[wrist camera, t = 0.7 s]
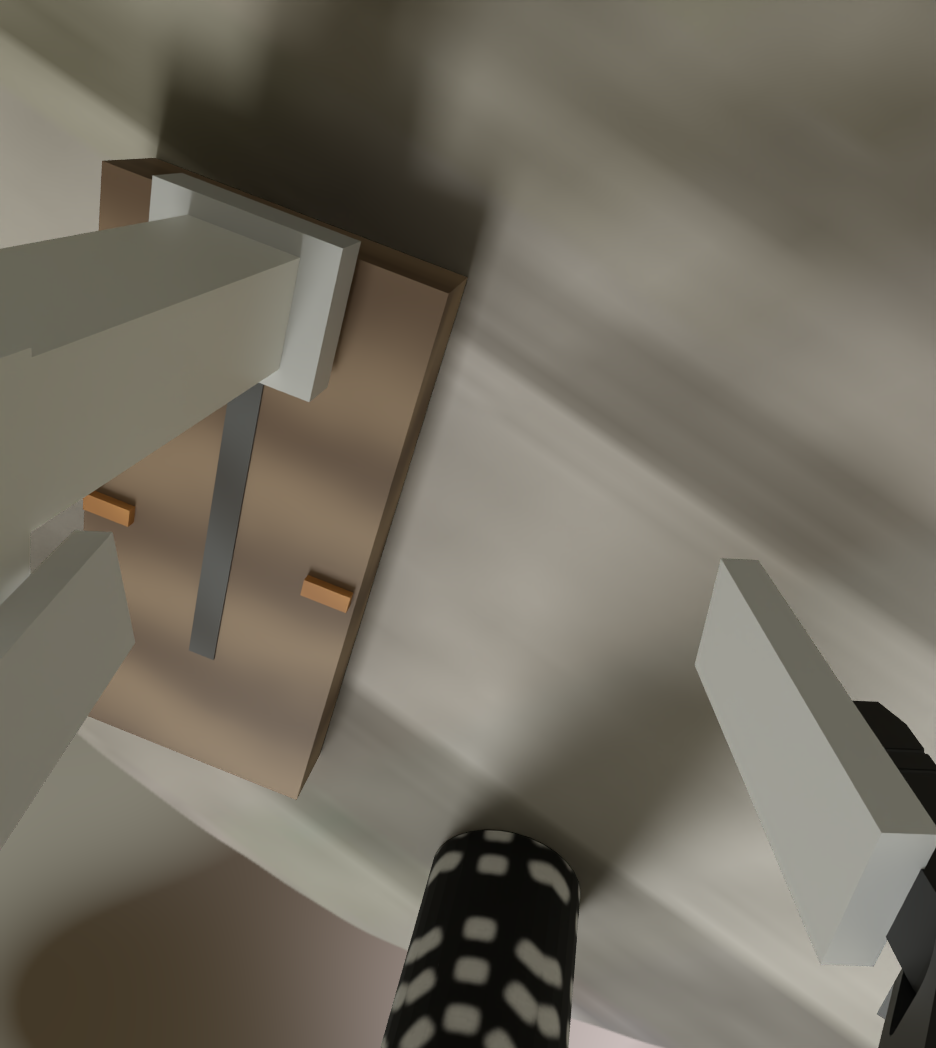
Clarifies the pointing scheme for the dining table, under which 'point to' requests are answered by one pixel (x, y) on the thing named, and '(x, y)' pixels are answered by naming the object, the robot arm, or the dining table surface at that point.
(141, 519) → the fader console
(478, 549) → the dining table surface
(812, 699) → the robot arm
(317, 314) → the fader knob
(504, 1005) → the spotted tube
